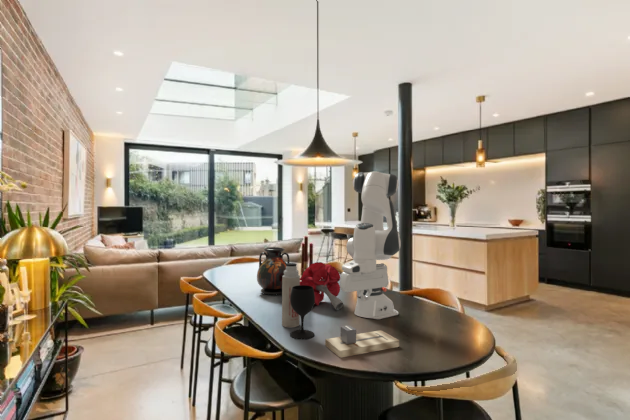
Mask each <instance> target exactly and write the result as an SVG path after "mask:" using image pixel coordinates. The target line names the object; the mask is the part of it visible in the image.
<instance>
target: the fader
mask: <svg viewBox="0 0 630 420" xmlns="http://www.w3.org/2000/svg"><path fill="white" fill-rule="evenodd" d="M356 334H357V328H355V327H353V326H351V325H350V324H348V325H342V326H341V325H340V337H341V339H340V340H342V341H343V342H345V343H346V344H351V343H356Z"/></svg>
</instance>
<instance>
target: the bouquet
mask: <svg viewBox="0 0 630 420" xmlns="http://www.w3.org/2000/svg"><path fill="white" fill-rule="evenodd" d="M340 280H341V274H340V273H339V270H338V269H337V268H336V267H335V266H333V265H332V264H329V263H328V264H327V263H326V264H325V263H324V262H317V261H316V262H313V263H310V264H309V266H308V267H307V268H305V270H304V271H303V272H302V274H301V277H300V285H307V286H312V287H313V289H314V294H315V303H314V305H316V306H319V305H320V303H322V302H323V301H324V299H325V295H326V296H327V297H328V300H329V301H330V304H331V305H332V308H333V309H334V310H336V311H337V310H340V309H341V308H342V307H343V306H344V302H343V301H342V300H341V299H340V298H339V297H338V296H339V294H340V292H341V288H340V283H339V282H340Z"/></svg>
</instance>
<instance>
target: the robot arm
mask: <svg viewBox="0 0 630 420" xmlns="http://www.w3.org/2000/svg"><path fill="white" fill-rule="evenodd" d="M399 183H400V182H399V180H398V177H397V175H395V174H393V173H386V172H380V171H377V170H375V171H374V170H373V171H369V172H363V171H360V172H357V173H355V176H354V178H353V180H352V186H353V189H354V191H355V192H356V193H359V194H361V199H360V200H361V203H362V210H361V219H360V223H358V224H356V225H355V226H354V229H353V236H352V237H351V238H349V239H348V241H347V242H346V248H345V249H346V251H347V253H348V255H349V256H351V258H352V260H351V261H348V262H346V263H344V264H342V265H341V270H342V272H341V274H340V280H339V282H340V283H339V285H340V291H343V292H344V293H351V292H353V293H354V292H356V305H355V310H354V312H353V313H354V315H355V316H358V317H362V318H367V319H374V320H381V319H387V318H390V317H394V316H398V315H399V311H398V310H396V309H395V307H394V302H393V300H391V299H390V297H388V296H387V295H386V294H384V293H385V292H387V290H388V289H387V287H388V286H389V275H388V266H387V265H386V264H385V263H377V261H387V260H390V259H391V258H392V257H393V256H394V255H396V254H397V253H398V252H399V251H400V249H401V244H402V243H401V242H402V241H401V238H400V233H399V232H398V225H397V218H396V212H395V207H394V203H393V201H392V200H391V199H389V198H390V197H392V196H394V195H395V194H396V193H397V192H398V189H399ZM384 217H385V218H386V226H387V229H384Z"/></svg>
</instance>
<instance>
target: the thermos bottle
mask: <svg viewBox="0 0 630 420" xmlns="http://www.w3.org/2000/svg"><path fill="white" fill-rule="evenodd" d="M286 263H287V262H286ZM299 273H300V272H299V270H297V263H296V262H289V263H287V264H286V270H285V271H284V275H283V276H282V295H281V298H282V299H281V301H282V302H281V325H282V327H285V328H297V327H299V326H300V315H299V314H297V313H296V312H295V311H294V310H293V308H292V306H291V302H290V295H291V291H292V288H293V287H294V286H299V285H300V282H301V280H300V278H301V277H300V275H299Z"/></svg>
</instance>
